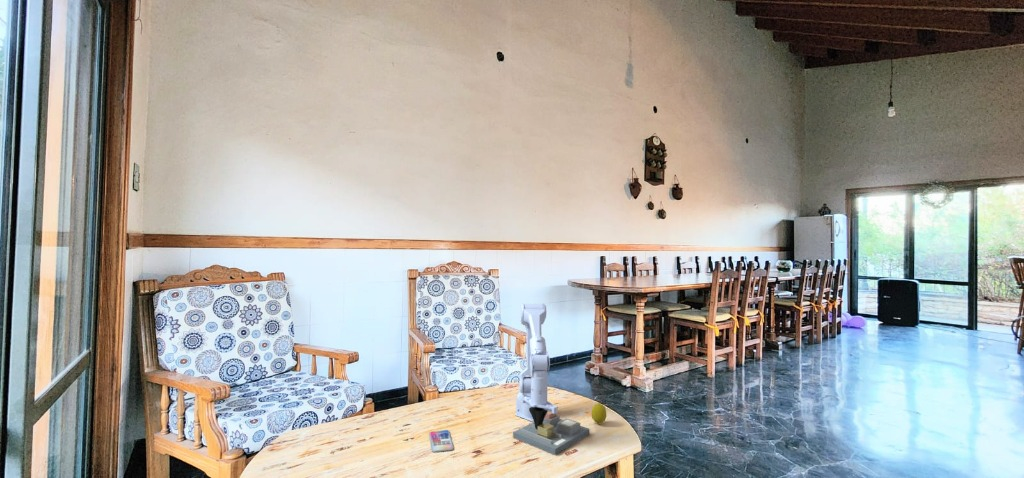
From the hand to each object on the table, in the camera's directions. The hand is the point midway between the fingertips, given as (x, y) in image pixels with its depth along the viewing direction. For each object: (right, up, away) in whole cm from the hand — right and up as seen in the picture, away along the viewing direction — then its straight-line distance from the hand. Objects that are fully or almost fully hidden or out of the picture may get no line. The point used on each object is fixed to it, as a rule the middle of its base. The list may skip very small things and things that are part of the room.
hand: (538, 428), depth 151 cm
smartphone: (-33, -4, -3) cm, 34 cm away
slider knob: (+2, -2, -2) cm, 4 cm away
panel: (+5, -4, +3) cm, 7 cm away
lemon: (+24, -5, +14) cm, 28 cm away
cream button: (+11, -2, +4) cm, 12 cm away
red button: (+4, 0, +10) cm, 11 cm away
